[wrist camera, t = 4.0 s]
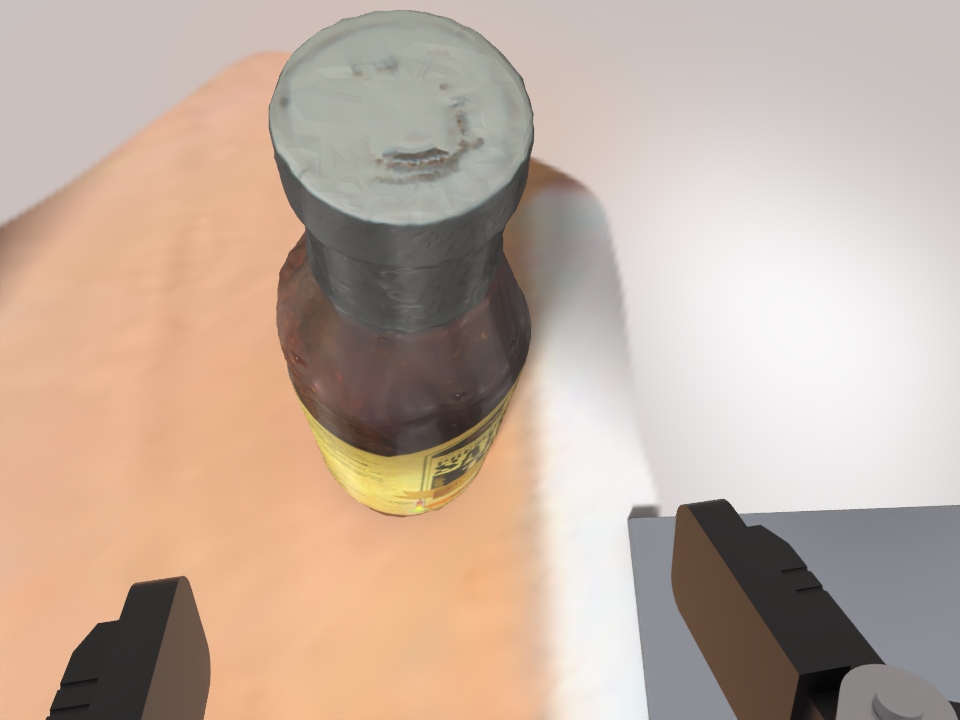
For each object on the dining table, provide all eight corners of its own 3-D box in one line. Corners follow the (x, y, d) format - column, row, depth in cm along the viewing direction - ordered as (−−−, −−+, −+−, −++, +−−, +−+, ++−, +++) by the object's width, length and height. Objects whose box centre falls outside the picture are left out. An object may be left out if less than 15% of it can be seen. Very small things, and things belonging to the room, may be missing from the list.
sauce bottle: (456, 543, 29) (537, 407, 10) (301, 490, 29) (89, 258, 10) (507, 387, 31) (652, 31, 12) (362, 338, 31) (283, -88, 12)
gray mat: (662, 844, 26) (667, 849, 25) (627, 520, 29) (631, 518, 29) (1090, 809, 27) (1105, 813, 27) (1009, 504, 31) (1020, 502, 30)
